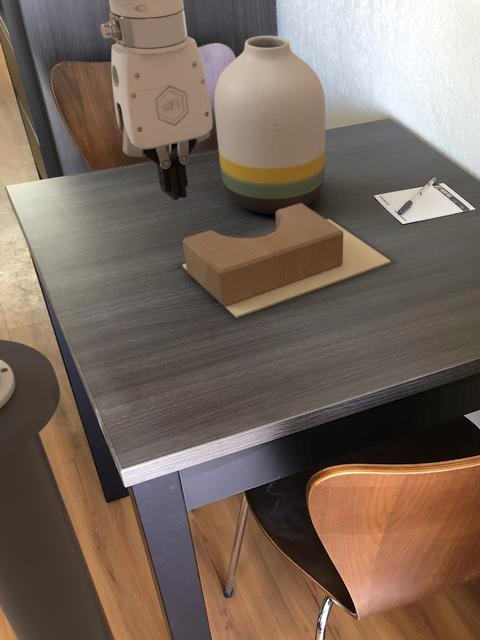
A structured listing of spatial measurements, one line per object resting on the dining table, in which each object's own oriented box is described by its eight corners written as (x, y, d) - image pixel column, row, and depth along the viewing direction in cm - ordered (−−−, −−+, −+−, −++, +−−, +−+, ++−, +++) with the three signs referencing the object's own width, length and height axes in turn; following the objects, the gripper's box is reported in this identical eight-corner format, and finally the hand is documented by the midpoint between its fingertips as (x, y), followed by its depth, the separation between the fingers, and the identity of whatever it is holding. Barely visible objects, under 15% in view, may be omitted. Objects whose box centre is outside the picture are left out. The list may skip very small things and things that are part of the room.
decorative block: (180, 237, 100) (301, 201, 109) (186, 274, 104) (302, 236, 113) (219, 270, 94) (345, 229, 102) (224, 308, 98) (344, 265, 106)
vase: (249, 172, 130) (238, 20, 113) (338, 187, 126) (341, 32, 109) (206, 214, 118) (187, 51, 102) (303, 231, 114) (300, 65, 98)
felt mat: (236, 318, 97) (236, 315, 97) (182, 266, 106) (182, 264, 106) (390, 263, 108) (390, 260, 108) (329, 220, 117) (329, 218, 117)
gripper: (96, 49, 72) (131, 222, 85) (229, 26, 78) (243, 191, 91) (69, 31, 76) (106, 198, 89) (197, 10, 83) (214, 170, 95)
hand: (175, 194), depth 90 cm, fingers closed
